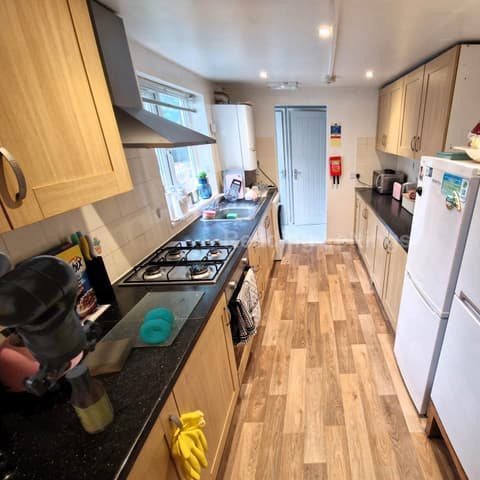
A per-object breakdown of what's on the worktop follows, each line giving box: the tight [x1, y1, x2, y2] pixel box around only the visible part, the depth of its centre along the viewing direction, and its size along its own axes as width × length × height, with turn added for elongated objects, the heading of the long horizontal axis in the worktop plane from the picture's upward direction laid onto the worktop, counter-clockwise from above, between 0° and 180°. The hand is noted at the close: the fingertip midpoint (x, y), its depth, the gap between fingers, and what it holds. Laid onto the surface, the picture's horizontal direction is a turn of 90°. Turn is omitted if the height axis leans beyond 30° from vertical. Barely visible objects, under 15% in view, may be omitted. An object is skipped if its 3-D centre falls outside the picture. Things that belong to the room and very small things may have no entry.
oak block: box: [79, 337, 134, 377], centre depth 90 cm, size 11×11×4 cm
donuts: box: [139, 307, 175, 344], centre depth 100 cm, size 10×10×10 cm
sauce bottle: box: [65, 364, 115, 435], centre depth 67 cm, size 6×6×20 cm
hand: (73, 367), depth 59 cm, fingers open, 8 cm apart
